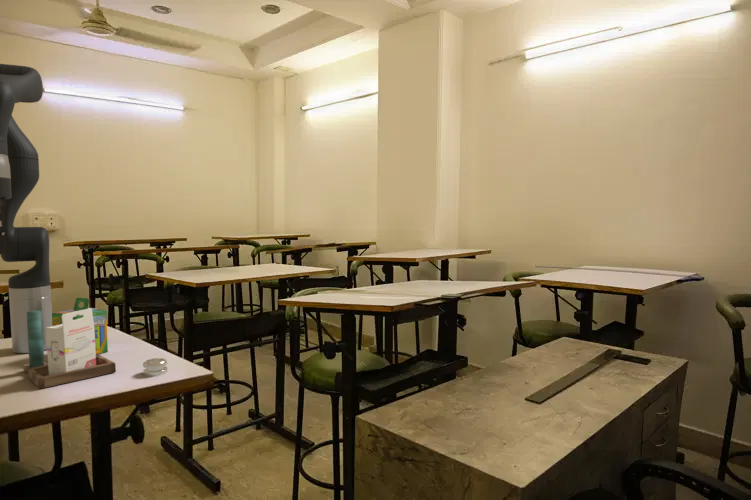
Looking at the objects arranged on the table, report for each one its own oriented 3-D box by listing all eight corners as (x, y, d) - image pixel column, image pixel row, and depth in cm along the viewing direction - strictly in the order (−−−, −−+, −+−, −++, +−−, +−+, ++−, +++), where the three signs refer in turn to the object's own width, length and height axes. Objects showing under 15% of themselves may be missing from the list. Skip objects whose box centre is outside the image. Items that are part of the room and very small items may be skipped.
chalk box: (52, 357, 124) (48, 300, 123) (85, 348, 133) (82, 294, 132) (77, 361, 121) (74, 302, 120) (109, 351, 129) (107, 296, 128)
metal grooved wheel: (161, 368, 115) (139, 373, 111) (160, 356, 114) (139, 360, 111) (171, 372, 111) (149, 378, 108) (171, 359, 111) (149, 365, 107)
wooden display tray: (19, 370, 113) (16, 311, 112) (89, 357, 124) (86, 303, 123) (40, 388, 101) (36, 322, 100) (115, 371, 111) (113, 312, 110)
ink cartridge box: (79, 368, 114) (76, 306, 113) (97, 370, 113) (94, 307, 112) (47, 380, 106) (43, 313, 105) (65, 382, 105) (62, 314, 104)
